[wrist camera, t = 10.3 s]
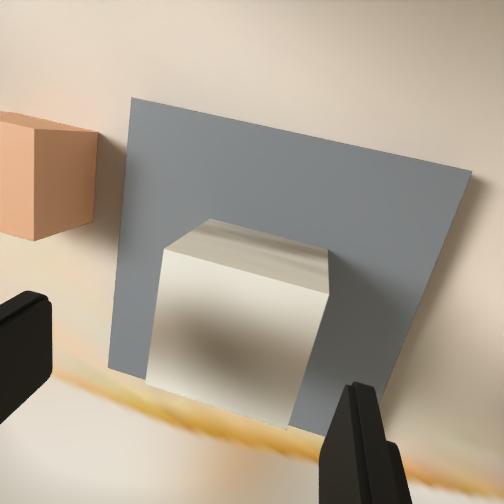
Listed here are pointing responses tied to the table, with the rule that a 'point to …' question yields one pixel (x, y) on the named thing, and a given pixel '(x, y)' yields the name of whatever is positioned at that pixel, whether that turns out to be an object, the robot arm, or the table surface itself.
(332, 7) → the table surface
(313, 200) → the base board
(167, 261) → the cream block
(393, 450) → the robot arm
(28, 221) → the terracotta block
